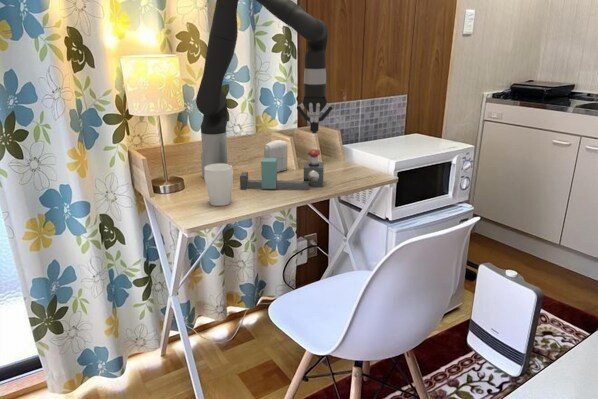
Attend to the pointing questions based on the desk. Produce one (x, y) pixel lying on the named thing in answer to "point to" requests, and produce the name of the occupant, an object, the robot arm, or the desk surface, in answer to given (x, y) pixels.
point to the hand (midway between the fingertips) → (314, 132)
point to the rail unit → (311, 178)
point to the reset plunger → (313, 157)
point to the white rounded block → (277, 153)
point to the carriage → (269, 173)
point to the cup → (219, 183)
